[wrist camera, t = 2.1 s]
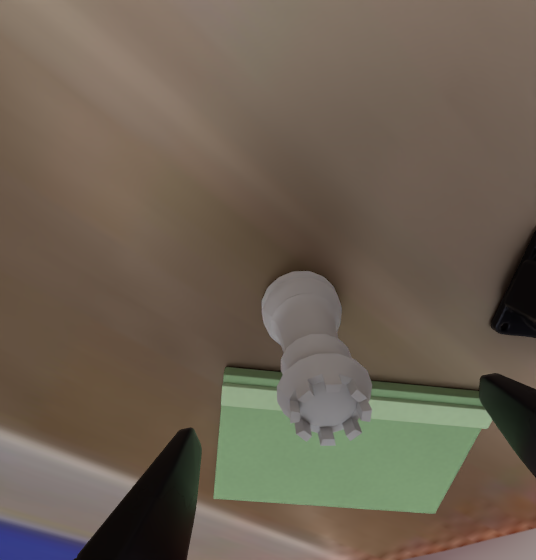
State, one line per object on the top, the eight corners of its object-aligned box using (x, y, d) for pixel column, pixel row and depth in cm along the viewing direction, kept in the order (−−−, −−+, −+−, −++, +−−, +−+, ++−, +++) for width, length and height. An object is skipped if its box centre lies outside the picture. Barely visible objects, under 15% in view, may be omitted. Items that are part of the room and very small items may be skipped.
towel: (488, 391, 18) (501, 404, 17) (429, 503, 22) (437, 518, 21) (225, 366, 17) (222, 378, 16) (215, 487, 21) (212, 503, 20)
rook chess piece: (255, 330, 16) (247, 458, 9) (268, 261, 15) (273, 344, 7) (325, 341, 17) (376, 474, 9) (346, 275, 15) (427, 368, 7)
